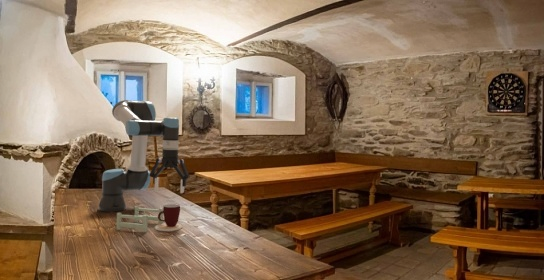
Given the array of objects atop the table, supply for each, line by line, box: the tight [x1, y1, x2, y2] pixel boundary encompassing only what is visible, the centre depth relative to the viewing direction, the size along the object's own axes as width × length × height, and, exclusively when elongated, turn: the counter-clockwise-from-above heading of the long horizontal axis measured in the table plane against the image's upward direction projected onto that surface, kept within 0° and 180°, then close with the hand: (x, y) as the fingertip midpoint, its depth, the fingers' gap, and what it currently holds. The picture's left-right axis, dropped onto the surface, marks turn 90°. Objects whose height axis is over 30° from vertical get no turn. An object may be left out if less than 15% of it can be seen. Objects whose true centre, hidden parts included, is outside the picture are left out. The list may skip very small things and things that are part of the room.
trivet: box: [154, 222, 183, 232], centre depth 202 cm, size 13×13×1 cm
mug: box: [157, 203, 181, 227], centre depth 202 cm, size 11×8×10 cm
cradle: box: [116, 205, 164, 233], centre depth 203 cm, size 15×18×8 cm
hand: (169, 191), depth 202 cm, fingers open, 13 cm apart
